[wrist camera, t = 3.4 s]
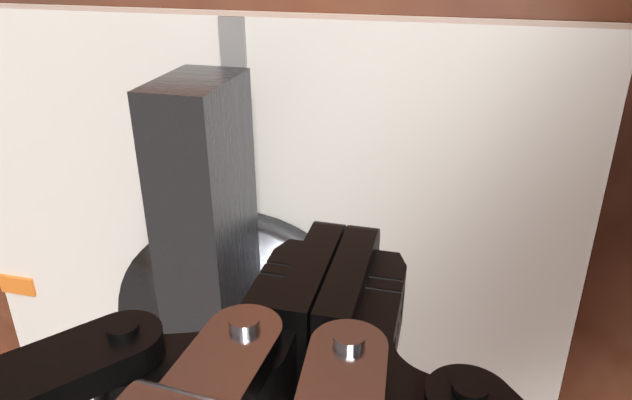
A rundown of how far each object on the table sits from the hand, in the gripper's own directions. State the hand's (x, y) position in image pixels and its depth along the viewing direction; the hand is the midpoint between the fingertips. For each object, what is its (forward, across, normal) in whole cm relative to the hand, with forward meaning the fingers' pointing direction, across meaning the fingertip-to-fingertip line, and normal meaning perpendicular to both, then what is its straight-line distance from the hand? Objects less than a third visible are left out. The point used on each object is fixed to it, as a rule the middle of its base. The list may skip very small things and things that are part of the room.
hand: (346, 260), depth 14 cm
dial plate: (+12, +6, +10) cm, 17 cm away
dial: (+10, +6, +7) cm, 14 cm away
